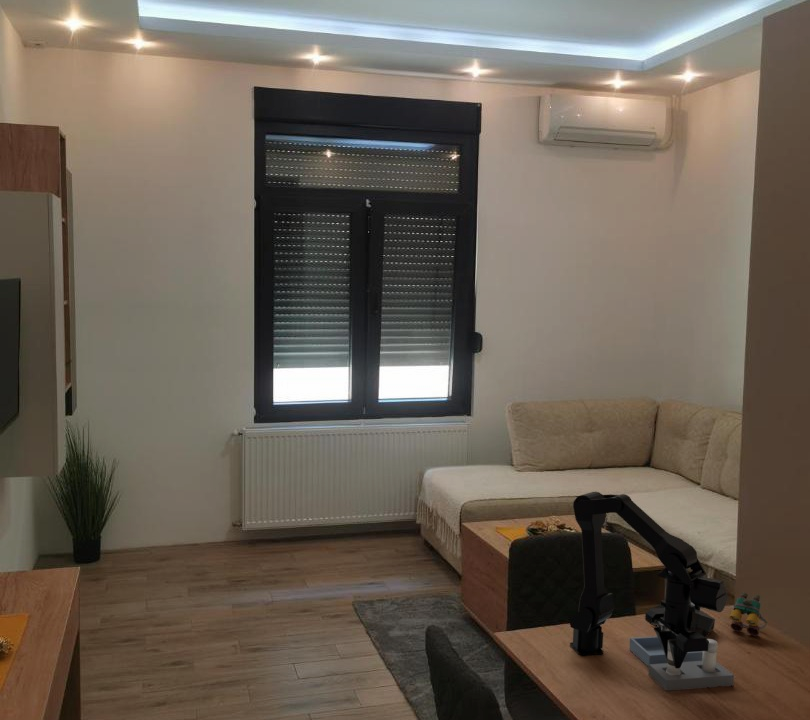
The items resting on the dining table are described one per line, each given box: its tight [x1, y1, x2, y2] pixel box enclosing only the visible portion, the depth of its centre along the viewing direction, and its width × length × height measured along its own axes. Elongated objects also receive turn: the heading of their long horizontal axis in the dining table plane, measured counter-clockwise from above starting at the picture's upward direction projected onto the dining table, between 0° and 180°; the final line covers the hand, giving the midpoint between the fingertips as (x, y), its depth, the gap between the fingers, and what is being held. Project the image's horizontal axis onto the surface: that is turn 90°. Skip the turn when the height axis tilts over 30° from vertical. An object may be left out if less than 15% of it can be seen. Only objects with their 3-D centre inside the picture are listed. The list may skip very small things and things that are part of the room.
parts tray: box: [628, 635, 703, 668], centre depth 210 cm, size 14×10×3 cm
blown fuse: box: [666, 639, 681, 675], centre depth 196 cm, size 3×3×9 cm
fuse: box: [701, 638, 719, 673], centre depth 198 cm, size 3×3×9 cm
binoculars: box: [728, 591, 768, 637], centre depth 227 cm, size 9×9×10 cm
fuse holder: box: [648, 660, 735, 692], centre depth 197 cm, size 17×8×2 cm, turn 102°
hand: (673, 664), depth 196 cm, fingers closed on blown fuse, 3 cm apart
